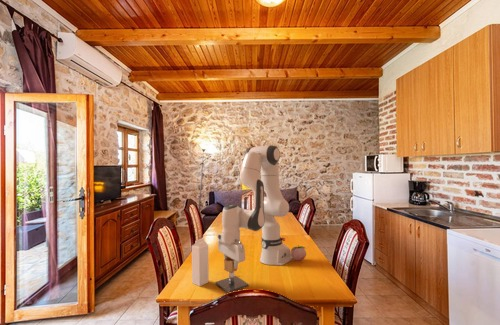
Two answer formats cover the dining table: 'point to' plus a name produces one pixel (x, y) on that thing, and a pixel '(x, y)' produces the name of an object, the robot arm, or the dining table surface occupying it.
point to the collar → (229, 264)
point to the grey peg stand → (231, 283)
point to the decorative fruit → (298, 253)
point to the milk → (200, 263)
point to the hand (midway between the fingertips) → (231, 265)
